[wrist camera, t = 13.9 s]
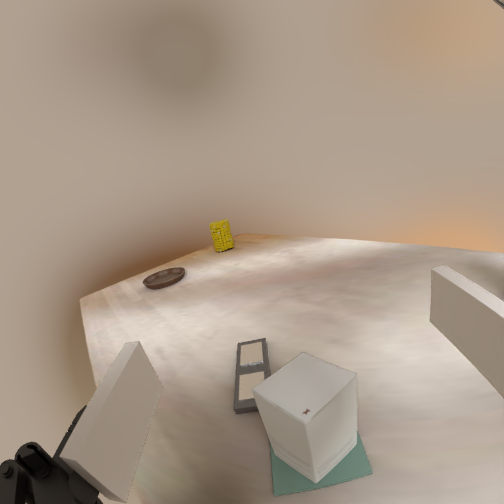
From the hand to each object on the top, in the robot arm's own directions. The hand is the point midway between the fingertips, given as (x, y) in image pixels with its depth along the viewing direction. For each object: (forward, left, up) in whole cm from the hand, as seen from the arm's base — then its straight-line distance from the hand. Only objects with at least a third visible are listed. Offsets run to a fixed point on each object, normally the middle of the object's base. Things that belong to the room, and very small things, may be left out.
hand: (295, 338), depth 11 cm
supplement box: (0, -10, -24) cm, 26 cm away
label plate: (+7, -28, -25) cm, 38 cm away
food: (+19, -122, -25) cm, 126 cm away
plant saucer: (+41, -91, -25) cm, 103 cm away
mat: (-1, -10, -25) cm, 26 cm away
